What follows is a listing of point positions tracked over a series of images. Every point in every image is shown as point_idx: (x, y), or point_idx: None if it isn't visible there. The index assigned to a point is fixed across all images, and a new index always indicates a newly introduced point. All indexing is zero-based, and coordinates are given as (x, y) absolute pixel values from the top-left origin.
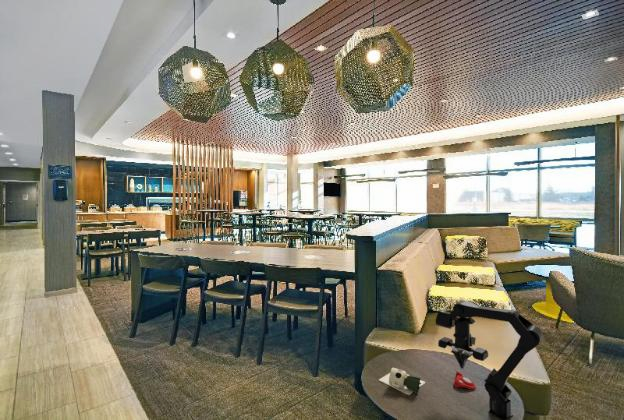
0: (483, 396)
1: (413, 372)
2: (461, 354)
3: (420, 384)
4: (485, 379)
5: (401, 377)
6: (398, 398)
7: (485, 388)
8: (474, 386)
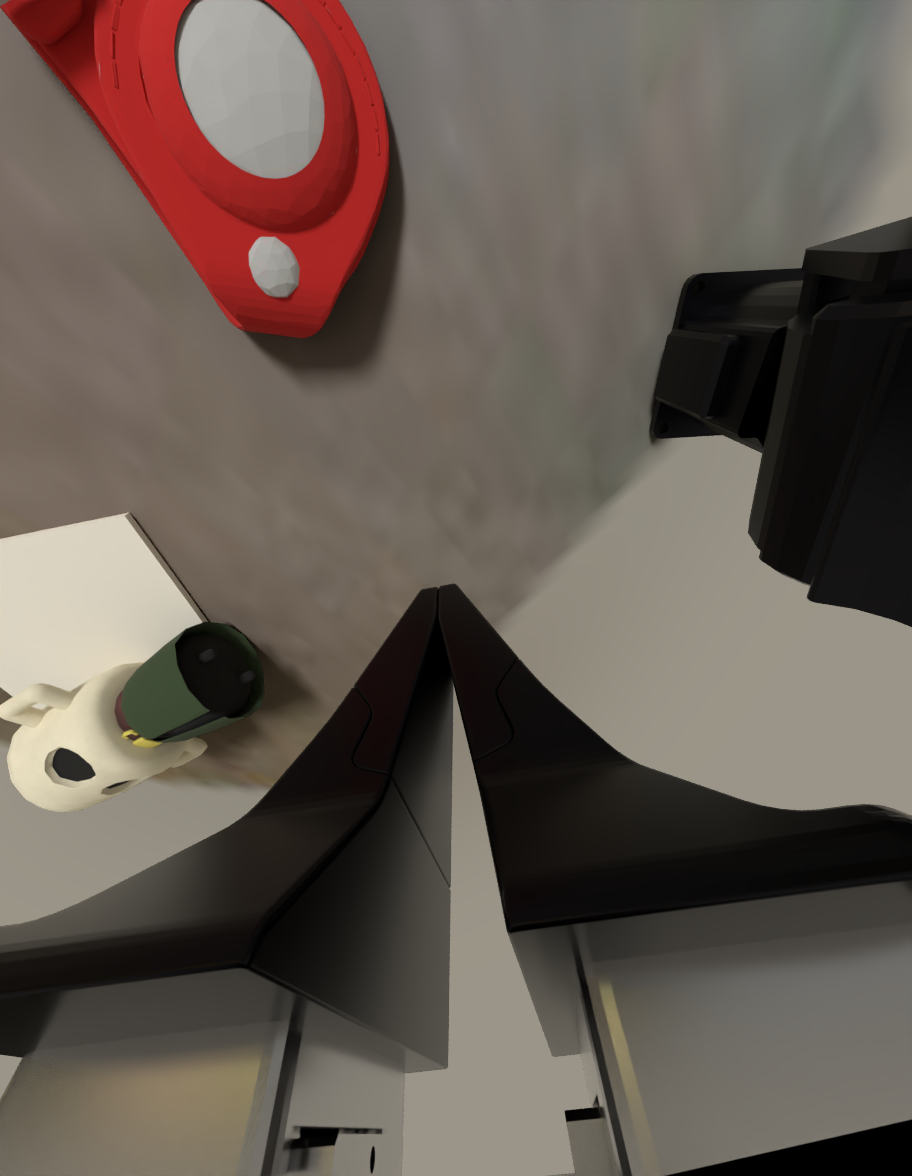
0: (527, 197)
1: None
2: (551, 1050)
3: (154, 572)
4: (839, 586)
5: (158, 772)
6: (263, 729)
7: (753, 535)
8: (365, 82)
